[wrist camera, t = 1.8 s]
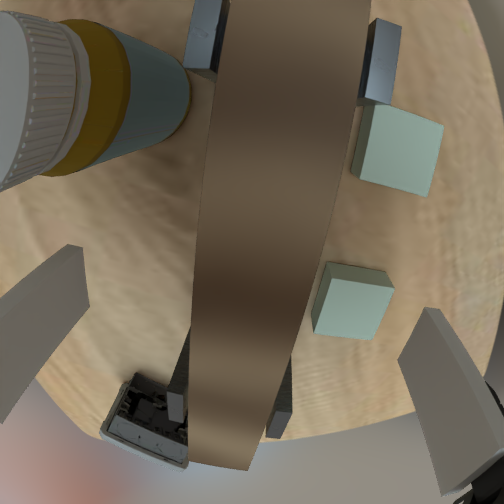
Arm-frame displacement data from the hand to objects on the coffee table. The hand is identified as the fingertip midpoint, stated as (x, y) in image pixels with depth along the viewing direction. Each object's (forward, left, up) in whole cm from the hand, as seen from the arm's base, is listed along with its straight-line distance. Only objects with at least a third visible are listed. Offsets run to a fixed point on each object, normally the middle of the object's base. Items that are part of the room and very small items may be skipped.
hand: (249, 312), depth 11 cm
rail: (0, 0, -4) cm, 4 cm away
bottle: (-7, -9, -12) cm, 17 cm away
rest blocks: (0, +8, -12) cm, 15 cm away
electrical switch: (+22, -8, -12) cm, 27 cm away
